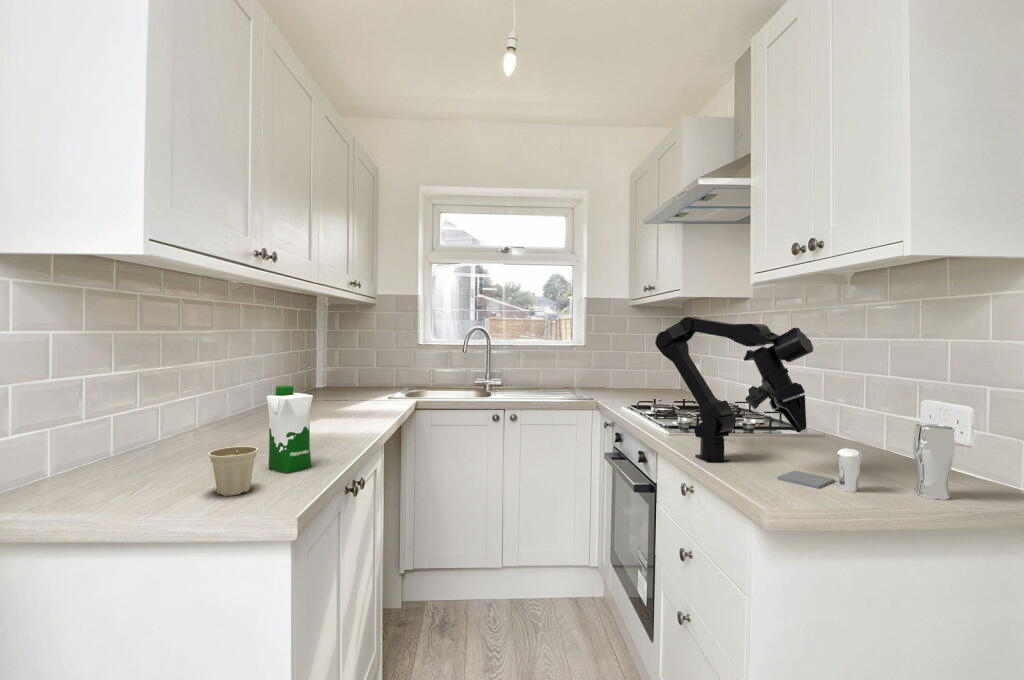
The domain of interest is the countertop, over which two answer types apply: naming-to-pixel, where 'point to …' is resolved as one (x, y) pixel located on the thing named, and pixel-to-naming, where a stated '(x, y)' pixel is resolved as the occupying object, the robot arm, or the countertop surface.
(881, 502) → the countertop surface
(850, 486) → the milkshake
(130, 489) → the countertop surface
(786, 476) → the coaster
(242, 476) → the flower pot
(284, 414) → the milk carton
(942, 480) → the beer glass
